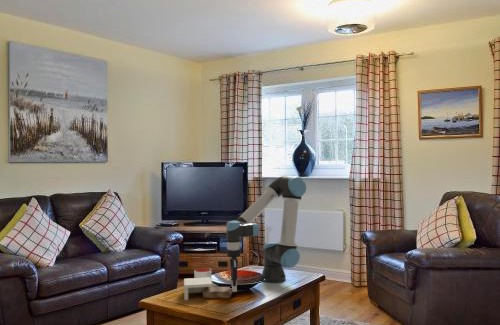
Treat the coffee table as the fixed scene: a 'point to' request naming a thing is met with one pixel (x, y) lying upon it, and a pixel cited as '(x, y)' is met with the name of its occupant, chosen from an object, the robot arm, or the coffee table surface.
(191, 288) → the shelf
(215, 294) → the board
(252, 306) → the coffee table surface
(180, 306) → the coffee table surface
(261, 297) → the coffee table surface
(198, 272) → the cup
